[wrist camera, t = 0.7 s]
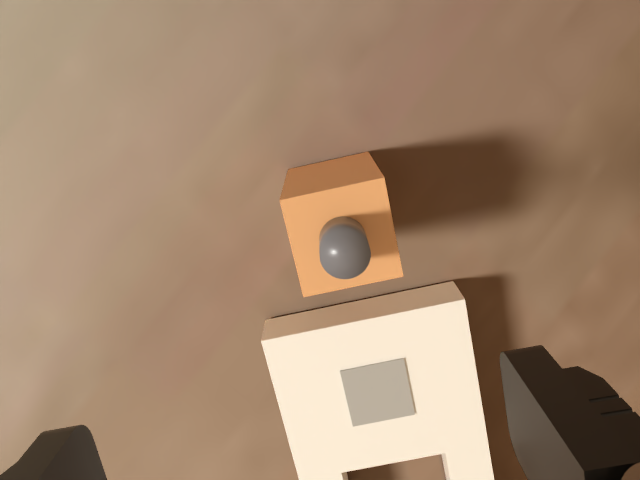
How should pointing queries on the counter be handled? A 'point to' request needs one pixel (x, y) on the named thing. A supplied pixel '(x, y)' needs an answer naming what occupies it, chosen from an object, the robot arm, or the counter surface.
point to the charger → (340, 224)
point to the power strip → (380, 384)
